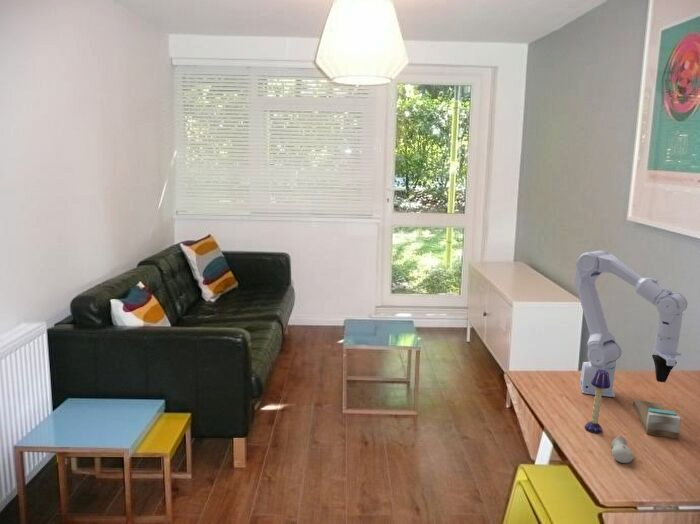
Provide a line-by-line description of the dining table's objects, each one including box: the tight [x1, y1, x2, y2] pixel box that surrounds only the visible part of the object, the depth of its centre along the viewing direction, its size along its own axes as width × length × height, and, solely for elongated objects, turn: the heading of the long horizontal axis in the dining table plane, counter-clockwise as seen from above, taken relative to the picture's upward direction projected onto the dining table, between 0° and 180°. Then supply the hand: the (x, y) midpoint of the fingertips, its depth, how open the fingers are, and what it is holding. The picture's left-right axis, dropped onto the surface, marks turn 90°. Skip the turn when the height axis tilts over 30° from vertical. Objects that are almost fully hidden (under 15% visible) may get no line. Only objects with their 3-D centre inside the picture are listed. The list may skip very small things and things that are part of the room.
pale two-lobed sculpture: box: [610, 436, 634, 464], centre depth 142 cm, size 4×8×5 cm
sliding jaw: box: [647, 408, 678, 416], centre depth 156 cm, size 6×2×4 cm, turn 75°
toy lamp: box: [584, 369, 610, 434], centre depth 155 cm, size 5×5×17 cm
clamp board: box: [632, 399, 682, 439], centre depth 162 cm, size 8×19×6 cm, turn 165°
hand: (660, 381), depth 167 cm, fingers closed
